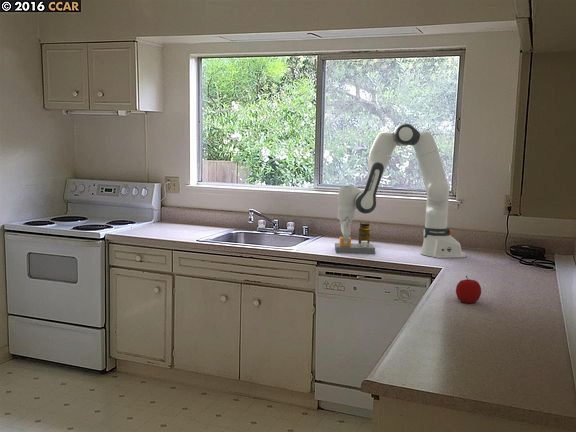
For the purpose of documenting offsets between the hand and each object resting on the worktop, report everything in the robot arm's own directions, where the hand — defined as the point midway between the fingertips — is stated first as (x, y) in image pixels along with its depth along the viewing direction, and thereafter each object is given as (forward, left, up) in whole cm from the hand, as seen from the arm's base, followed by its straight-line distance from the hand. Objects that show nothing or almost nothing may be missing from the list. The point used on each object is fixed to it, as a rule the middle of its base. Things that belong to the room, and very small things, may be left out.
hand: (345, 242), depth 323 cm
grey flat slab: (-5, 0, -5) cm, 7 cm away
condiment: (-11, -19, -5) cm, 22 cm away
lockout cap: (0, 0, -2) cm, 2 cm away
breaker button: (-10, 0, -4) cm, 11 cm away
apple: (-40, +92, -5) cm, 100 cm away
